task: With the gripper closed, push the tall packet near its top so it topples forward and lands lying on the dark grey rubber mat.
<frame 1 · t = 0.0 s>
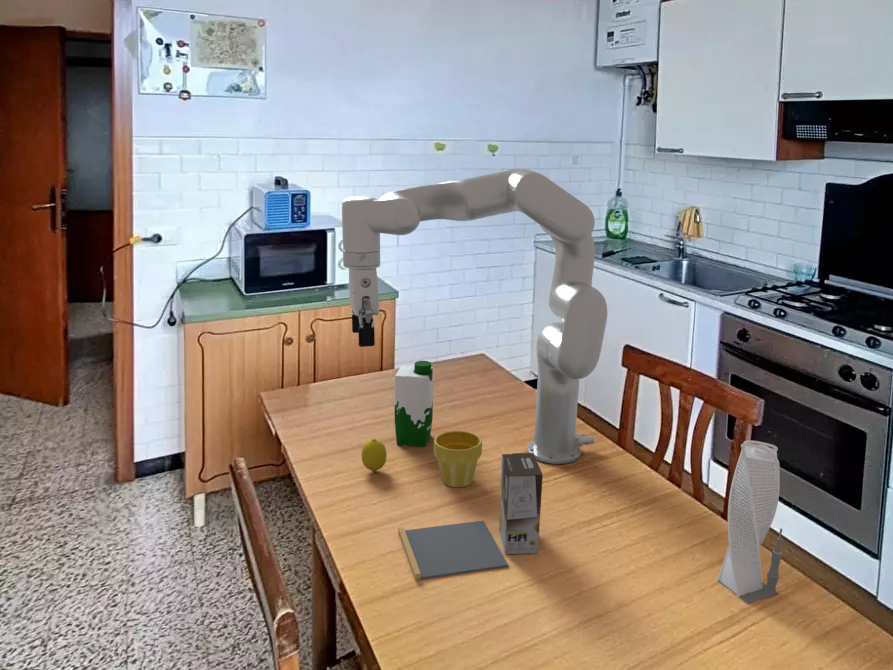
hand: (363, 338, 154), 31 cm above the table, tool pointing down, fingers open, 9 cm apart
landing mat: (453, 548, 136), on the table
plant pot: (457, 481, 161), on the table
milk carton: (413, 440, 180), on the table
coffee box: (517, 541, 139), on the table
lemon: (374, 472, 164), on the table
skyscraper: (741, 588, 127), on the table
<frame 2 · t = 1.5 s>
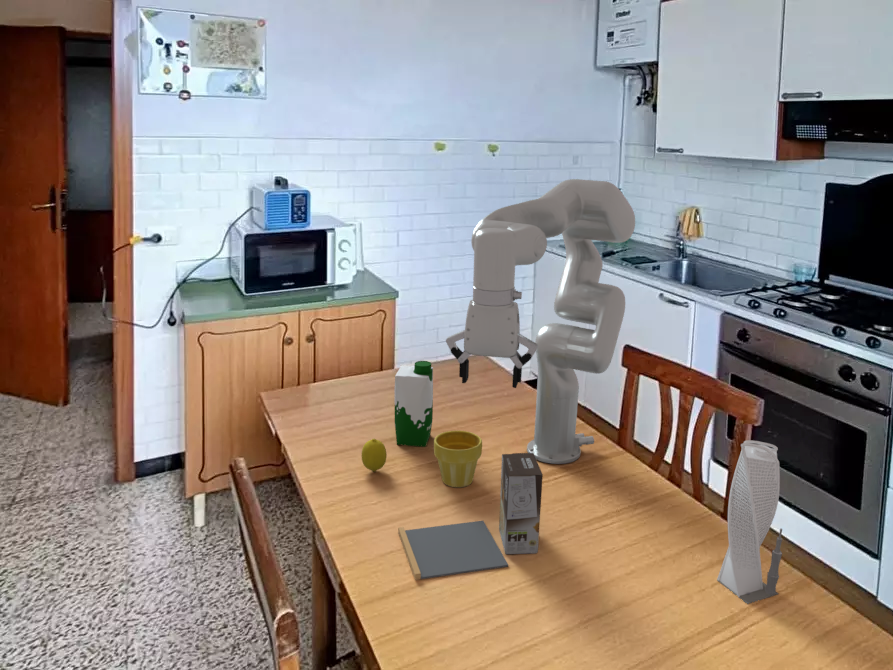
hand: (490, 383, 140), 28 cm above the table, tool pointing down, fingers open, 9 cm apart
nothing on the table moved.
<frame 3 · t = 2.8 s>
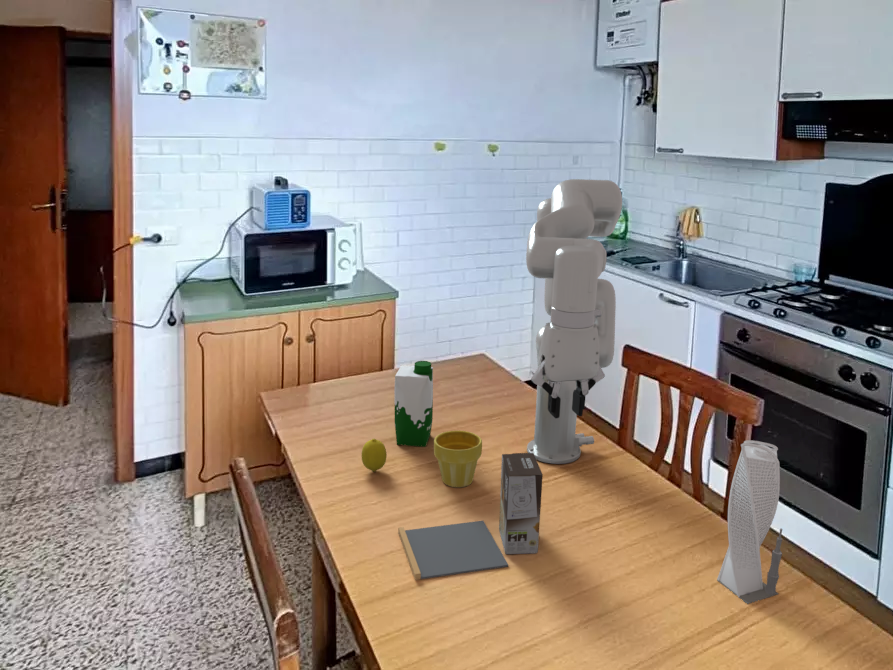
hand: (565, 413, 133), 25 cm above the table, tool pointing down, fingers open, 3 cm apart
nothing on the table moved.
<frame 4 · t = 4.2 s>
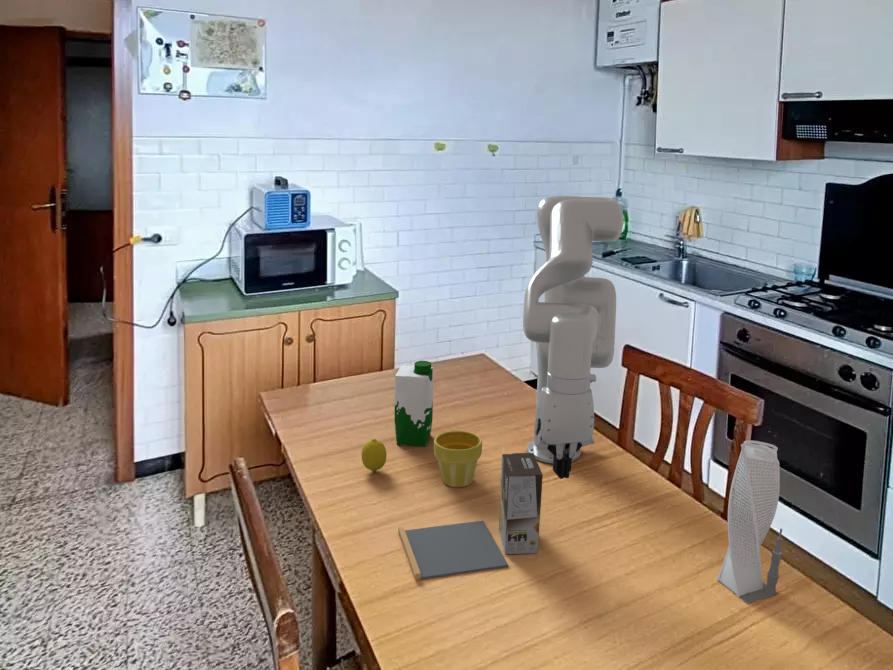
hand: (561, 475, 136), 13 cm above the table, tool pointing down, fingers closed
nothing on the table moved.
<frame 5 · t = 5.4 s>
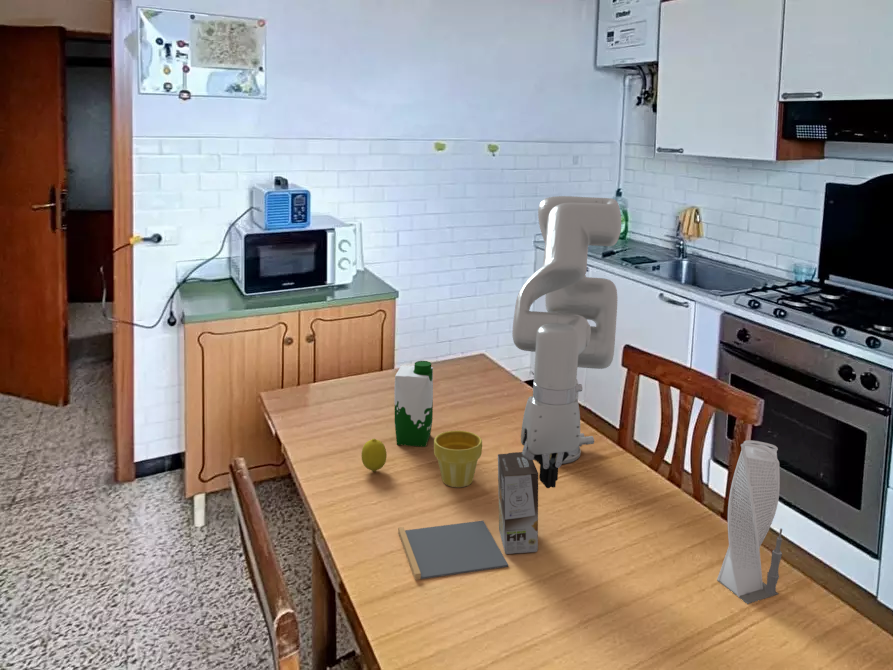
hand: (548, 484, 136), 11 cm above the table, tool pointing down, fingers closed
coffee box: (517, 540, 139), on the table, touching gripper
everything else where it was.
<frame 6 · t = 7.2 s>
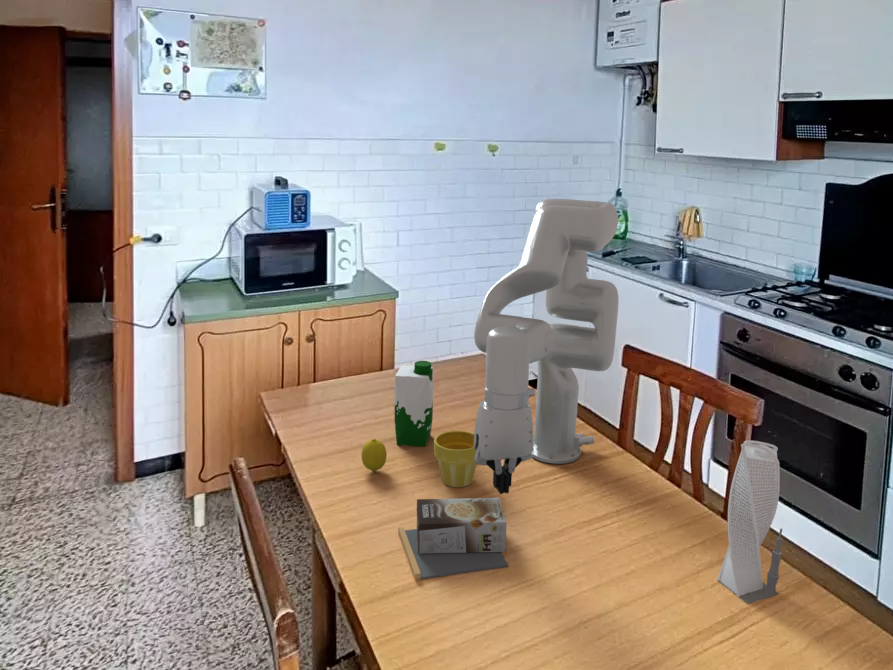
hand: (501, 489, 134), 11 cm above the table, tool pointing down, fingers closed
coffee box: (503, 523, 137), point 4 cm above the table, touching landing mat
everything else where it was.
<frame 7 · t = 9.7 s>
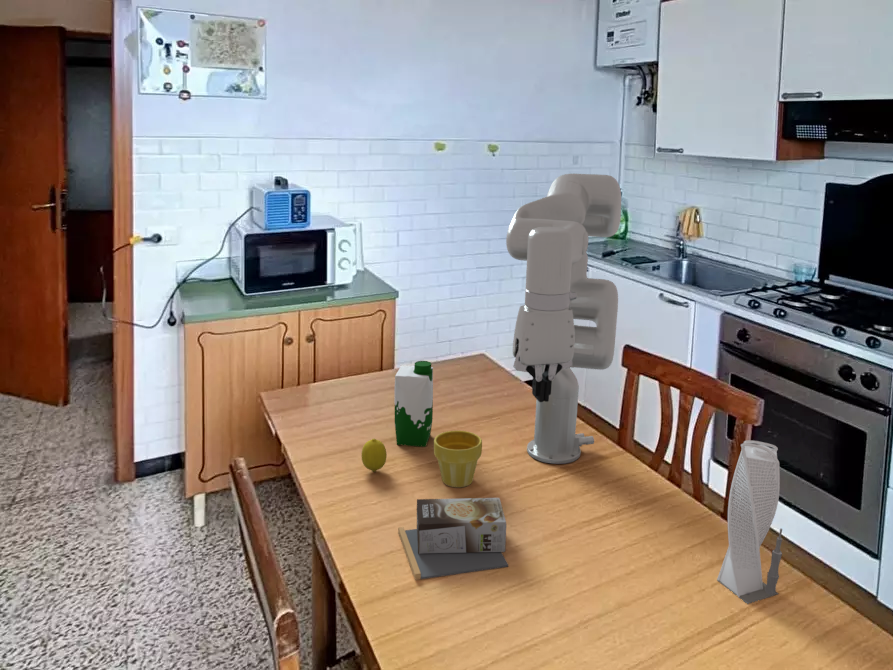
hand: (541, 398, 131), 28 cm above the table, tool pointing down, fingers closed
nothing on the table moved.
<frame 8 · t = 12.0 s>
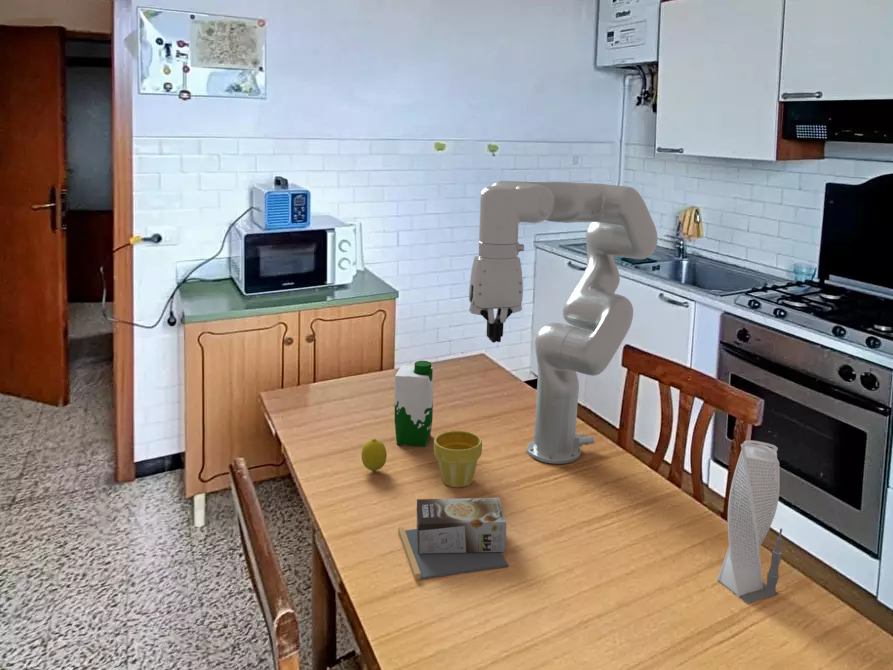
hand: (494, 340, 148), 33 cm above the table, tool pointing down, fingers closed
nothing on the table moved.
at the end: coffee box tilted 90°; coffee box inside the target area (6.2 cm from its centre), point 3.6 cm above the table; the gripper is holding nothing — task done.
